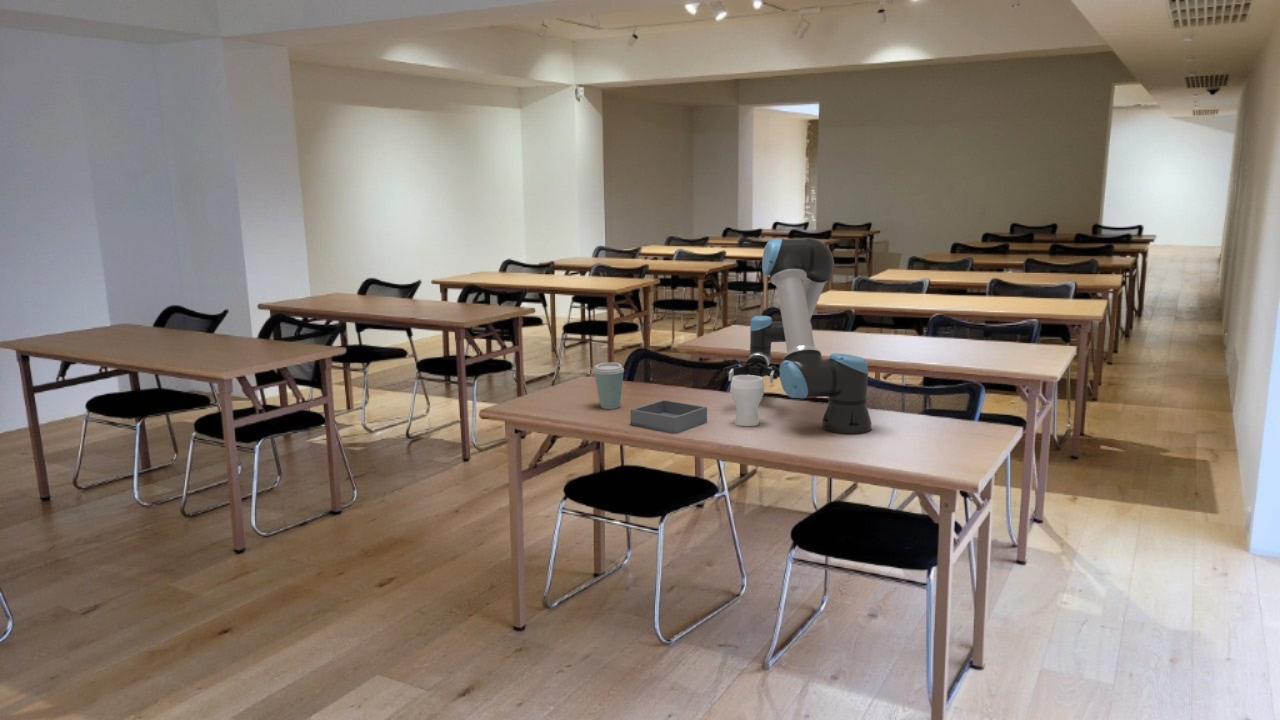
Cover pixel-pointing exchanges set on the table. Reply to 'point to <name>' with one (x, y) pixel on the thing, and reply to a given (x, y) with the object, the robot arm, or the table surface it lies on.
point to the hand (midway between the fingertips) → (750, 377)
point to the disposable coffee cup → (609, 384)
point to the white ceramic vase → (747, 398)
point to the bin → (668, 416)
